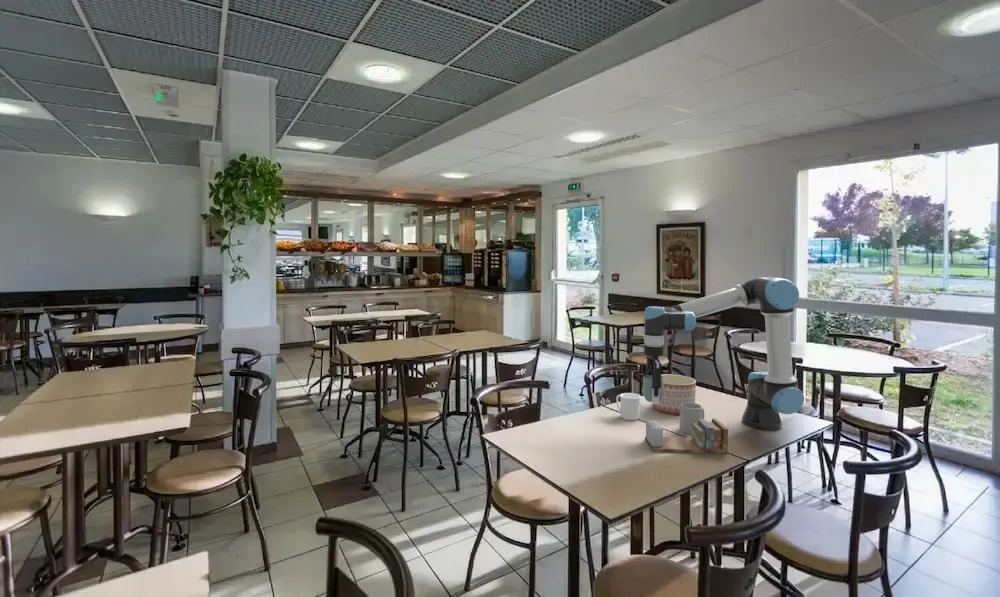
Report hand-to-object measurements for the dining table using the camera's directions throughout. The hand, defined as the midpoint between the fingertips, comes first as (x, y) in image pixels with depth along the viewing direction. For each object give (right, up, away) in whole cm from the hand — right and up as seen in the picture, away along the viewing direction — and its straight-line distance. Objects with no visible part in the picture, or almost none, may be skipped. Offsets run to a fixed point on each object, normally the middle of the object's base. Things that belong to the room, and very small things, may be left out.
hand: (652, 400), depth 198 cm
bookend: (-2, -14, -9) cm, 17 cm away
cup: (0, 0, 0) cm, 0 cm away
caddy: (+9, -16, -9) cm, 21 cm away
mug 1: (-4, -13, +24) cm, 27 cm away
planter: (+21, -12, +35) cm, 42 cm away
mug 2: (+19, -14, +8) cm, 25 cm away
